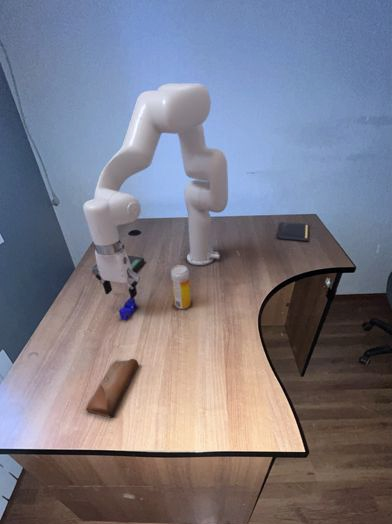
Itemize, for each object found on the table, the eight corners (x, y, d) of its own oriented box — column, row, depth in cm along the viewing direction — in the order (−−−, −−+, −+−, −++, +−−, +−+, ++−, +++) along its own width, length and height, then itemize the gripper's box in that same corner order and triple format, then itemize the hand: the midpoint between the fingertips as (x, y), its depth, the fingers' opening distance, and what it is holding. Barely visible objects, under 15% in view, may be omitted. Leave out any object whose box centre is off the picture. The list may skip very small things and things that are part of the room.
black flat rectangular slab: (281, 219, 146) (310, 222, 142) (280, 223, 147) (309, 226, 143) (277, 235, 133) (308, 238, 129) (276, 238, 134) (307, 242, 131)
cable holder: (128, 305, 101) (126, 296, 98) (136, 307, 100) (134, 298, 97) (117, 318, 96) (115, 310, 93) (126, 320, 95) (123, 311, 92)
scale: (144, 262, 122) (143, 256, 120) (130, 278, 113) (128, 272, 111) (110, 257, 127) (108, 251, 124) (94, 272, 118) (92, 266, 115)
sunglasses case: (113, 360, 81) (118, 349, 76) (133, 370, 83) (140, 360, 78) (83, 411, 69) (88, 402, 65) (108, 422, 71) (114, 414, 66)
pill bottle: (192, 301, 101) (190, 265, 90) (187, 311, 97) (184, 275, 86) (178, 298, 102) (174, 263, 92) (172, 308, 99) (167, 272, 88)
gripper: (140, 244, 79) (148, 292, 92) (90, 237, 83) (105, 284, 96) (128, 255, 74) (139, 305, 87) (76, 248, 79) (93, 296, 91)
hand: (121, 294), depth 91 cm, fingers open, 9 cm apart
